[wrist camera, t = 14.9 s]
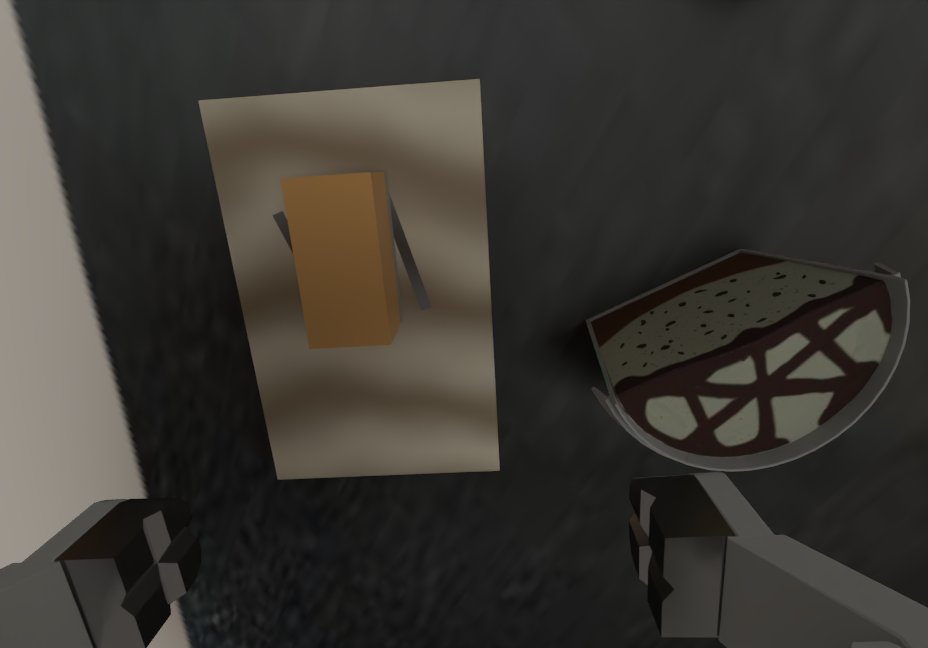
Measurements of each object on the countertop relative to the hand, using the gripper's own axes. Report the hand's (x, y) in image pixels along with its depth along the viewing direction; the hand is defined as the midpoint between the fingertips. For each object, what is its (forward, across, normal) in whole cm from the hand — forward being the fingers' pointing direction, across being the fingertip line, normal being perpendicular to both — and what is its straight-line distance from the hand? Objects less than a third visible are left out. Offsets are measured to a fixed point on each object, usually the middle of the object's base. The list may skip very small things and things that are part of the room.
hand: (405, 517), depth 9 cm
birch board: (+20, +5, 0) cm, 21 cm away
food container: (+21, -12, +4) cm, 25 cm away
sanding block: (+19, +5, -2) cm, 20 cm away
